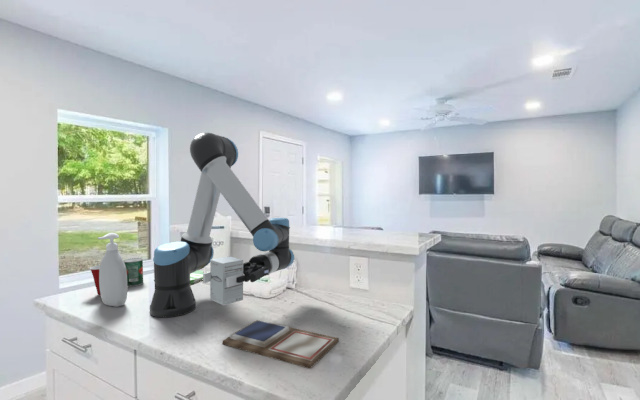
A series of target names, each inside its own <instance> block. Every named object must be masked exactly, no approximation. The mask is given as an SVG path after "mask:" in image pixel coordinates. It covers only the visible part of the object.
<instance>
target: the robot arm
mask: <svg viewBox="0 0 640 400" xmlns="http://www.w3.org/2000/svg"><path fill="white" fill-rule="evenodd" d="M236 145H237V144H236V143H234V141H232V140H231V139H230V138H228V137H225V136H222V135H219V134H214V133H212V132H202V133H201V132H200V133H198V134H197V135H196V136H195V137H194V138H193V139H192V140H191V142H190V146H189V153H190V156H191V158H192V160H193V162H194V164H195V165H196V166H197V168H198V169H199V171H200V177H199V180H198V181H199V182H198V184H197V185H198V186H197V189H196V193H195V198H194V201H193V205H192V210H191V214H190V217H189V218H190V219H189V223H188V227H187V231H185V232H184V233H182V235H181V238H180V241H171V242H166V243H162V244H160V245H158V246H157V247H155V249H154V251H153V258H152V262H153V271H154V272H153V273H154V274H153V277H154V279H153V281H154V280H155V282H154V292H153V295H152V300H151V301H150V302H151V303H150V305H149V315H150V316H153V317H156V318H173V317H178V316H183V315H186V314H189V313H191V312H193V311H194V310H195V309H196V308H197V300H196V298H195V295H194V292H193V290H192V288H191V287H192V286H191V285H190V274H191V273H193V272H195V271H197V270H199V271H201V270H202V269H204V268H206V267H207V266H208V265H209V264H210V260H211V259H214V248H213V239H212V237H211V236H210V235H211V231H212V227H213V223H214V219H215V216H216V211H217V208H218V203H219V199H220V195H222V196H223V198H224V200H226V202H227V203H228V205H229V206H230V207H231V209H232V210H233V212H234V213H235V214H236V215H237V217H238V218H239V220H240V221H241V222H242V224H243V225H244V226H245V228H246V230H248V231H249V233H250V234H251V236H252V243H253V246H254V247H255V248H256V250H258V251H260V252H263V253H261V254H260V253H259V254H256V255H253V256H252V257H251V258H250V259H249V261H245V262H243V273H239V274H236V275H233V276H230V277H227V278H226V287H231V286H234V285H237V284H239V283H242V282H243V283H244V282H245V283H248V282H249V281H250V283H254V282H256V281H258V280H260V279H261V278H264V277H266V276H269V275H270V274H272V273H276V272H279V271H281V270H284V269H286V268H289V267H290V266H292V265H293V263H294V262H295V261H294V260H295V254H294V252H293V250H292V249H291V248H290V228H291V227H290V220H289V219H288V218H287V217H271V218H270V219H269V218H268V217H267V216H266V215H265V213H264V211H263V210H262V209H261V208H260V206H259V205H258V203H257V202H256V201H255V199H254V198H253V196H251V194H250V192H249V191H248V190H247V188H246V187H245V186H244V185H243V183H242V182H241V181H240V179H239V178H238V177H237V175H236V174H235V172H234V171H233V170H232V167H233V166H234V165H235V164H236V163H237V161H238V158H239V149H238V147H237V146H236ZM202 283H210V271H207V273H203V281H202Z"/></svg>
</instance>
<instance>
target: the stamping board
mask: <svg viewBox="0 0 640 400" xmlns="http://www.w3.org/2000/svg"><path fill="white" fill-rule="evenodd" d="M338 343H339V337H335V336H331V335H326V334H322V333H318V332H314V331H308V330H304V329H299V328H295V327H290V326H286V325H281V324H276V323H272V322H267V321H263V320H259V319H256V320H254V321H253V322H251V323H250V324H248V325H245V326H244V327H241V328H240V329H239V330H237V331H235V332H233V333H231V334H230V335H229V336H228V337H227V338H225V339H223V340H222V345H225V346H228V347H230V348H231V347H232V348H235V349H239V350H242V351H246V352H250V353H253V354H257V355H260V356H264V357H268V358H271V359H274V360H278V361H281V362H285V363H289V364H293V365H296V366H300V367H303V368H307V369H311V368H312V367H313V366H315V365H316V364H317V363H318V362H319V361H320V359H322V358H323V357H324V356H325V355H326V354H327V353H328V352H329V351H330V350H331V349H332V348H333V347H334V346H335V345H337V344H338Z"/></svg>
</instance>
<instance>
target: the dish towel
mask: <svg viewBox="0 0 640 400" xmlns="http://www.w3.org/2000/svg"><path fill="white" fill-rule="evenodd" d="M203 271H204V270H197V271H195V272H193V273H191V274H190V286H191V285H194V284H196V283H201V282H203V281H202V279H203ZM153 282H154V283H155V280H154V279H153Z"/></svg>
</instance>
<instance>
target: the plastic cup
mask: <svg viewBox="0 0 640 400" xmlns="http://www.w3.org/2000/svg"><path fill="white" fill-rule="evenodd" d="M89 270H90V272H91V274H92V277H93V282H94V286H95V288H96V293H97V295H98V296H99V297H101V295H100V287H99V270H100V265H99V264H98V265H94V266H90V267H89Z"/></svg>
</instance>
